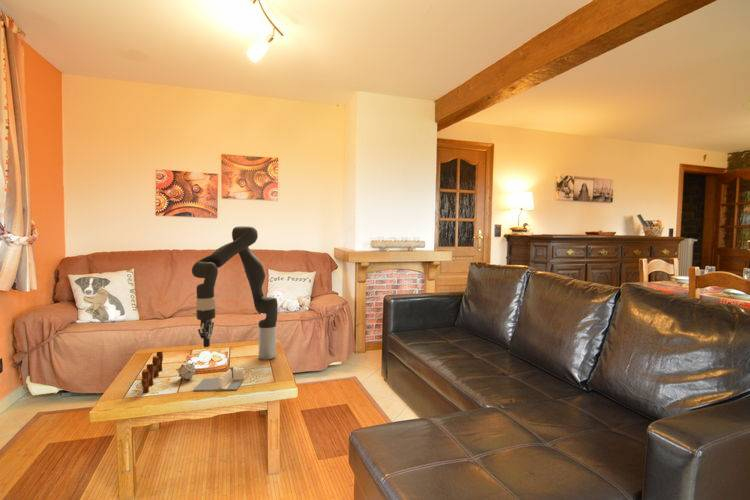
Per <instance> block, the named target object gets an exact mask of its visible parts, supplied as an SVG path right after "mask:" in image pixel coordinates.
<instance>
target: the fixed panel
mask: <svg viewBox="0 0 750 500" xmlns="http://www.w3.org/2000/svg"><path fill="white" fill-rule="evenodd" d="M233 378H234V379H244V380H245V370H244V367H241V368H240V367H233Z"/></svg>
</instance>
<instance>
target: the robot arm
mask: <svg viewBox="0 0 750 500" xmlns="http://www.w3.org/2000/svg"><path fill="white" fill-rule="evenodd" d="M258 236H259V235H258V230H257V228H255V227H253V226H246V225H245V226H244V225H243V226H242V225H241V226H240V225H239V226H235V227H233V229H232V230H231V237H232V241H231V242H228V243H226V244H224V245H221V246H219V247H218V248H216V250H215V251H213V252H212V253H211V254H210V255H207V256H205V257H203V258H201V259H199V260H198V261H196V262H195V263H194V264H193V265H192V268H191V273H192V275H193V277H195V278H197V279H204V280H203V283H200V284H197V286H196V303H195V306H196V307H195V308H196V310H195V311H196V319H197V320H198V321H200V323H199V327H200V328H198V330H197V332H198V334H199V336H200V338H201V339H202V340H203V348H209V347H210V346H211V336H212V334H213V330H214V325H215V323H214V322H213V319H215V318H216V300H215V285H216V282H217V278H218V274H219V268H221V267H223V266H224V265H225V264H226V263H227V262H229V261H230V260H231V259H232V258H233V257H235V256H236V255H239V257H240V259H241V263H242V266H243V269H244V273H245V277H246V279H247V281H248V284H249V287H250V292H251V295H252V299H253V305H254V308H255V311H256V312H257V313H259V314H263V315H265V318H264V319H261V320H259V321H258V358H259V360H263V361H264V360H271V359H272V360H273V359H275V358H276V357H277V322H278V309H279V308H278V307H279V305H278V304H279V303H278V300H277V299H276V298H275V297H273V296H272V297H271V296H265V295H264V292H263V285H264V282H265V279H266V273H265V269H264V266H263V264H262V262H261V260H259V258H258V257H257V256H256V255H255V254H254V253H253V252H252V251H251V249H250V246H252V245H253V244H255V243H256V241H257V240H258Z"/></svg>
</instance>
